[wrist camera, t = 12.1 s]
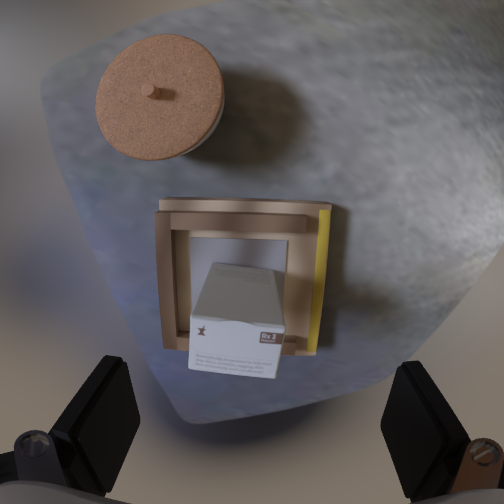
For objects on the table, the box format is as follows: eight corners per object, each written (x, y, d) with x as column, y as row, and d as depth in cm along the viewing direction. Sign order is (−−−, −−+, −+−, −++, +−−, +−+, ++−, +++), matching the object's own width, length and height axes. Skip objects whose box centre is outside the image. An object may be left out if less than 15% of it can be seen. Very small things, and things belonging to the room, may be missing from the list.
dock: (326, 201, 32) (335, 206, 28) (312, 343, 36) (317, 362, 32) (166, 197, 32) (154, 201, 28) (173, 337, 36) (164, 356, 32)
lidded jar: (246, 138, 30) (241, 126, 21) (147, 177, 31) (108, 183, 22) (211, 45, 28) (194, 6, 19) (117, 87, 29) (72, 66, 20)
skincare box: (208, 301, 32) (183, 374, 20) (211, 258, 31) (184, 314, 19) (270, 309, 32) (276, 385, 20) (277, 266, 31) (287, 327, 19)
